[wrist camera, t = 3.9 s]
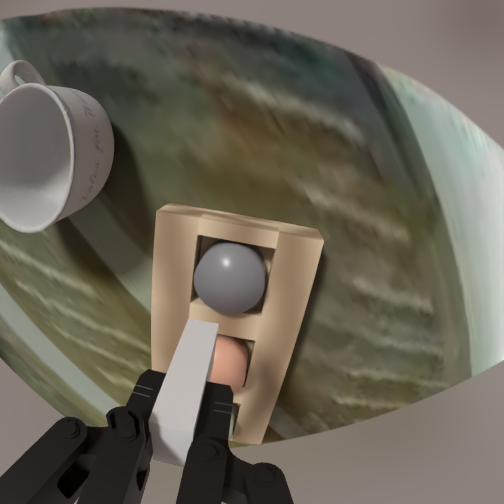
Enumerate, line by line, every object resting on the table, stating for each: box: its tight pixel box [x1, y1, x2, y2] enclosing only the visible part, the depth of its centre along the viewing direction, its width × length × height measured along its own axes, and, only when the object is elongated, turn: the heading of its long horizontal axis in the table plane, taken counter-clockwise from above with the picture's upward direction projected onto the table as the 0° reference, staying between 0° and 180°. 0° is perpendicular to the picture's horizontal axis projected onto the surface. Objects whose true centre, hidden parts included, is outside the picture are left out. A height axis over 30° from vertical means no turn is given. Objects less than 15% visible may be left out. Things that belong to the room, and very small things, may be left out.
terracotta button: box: [210, 334, 248, 393], centre depth 25 cm, size 5×5×3 cm
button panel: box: [151, 203, 324, 445], centre depth 27 cm, size 12×24×3 cm, turn 170°
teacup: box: [0, 60, 114, 233], centre depth 19 cm, size 14×11×8 cm
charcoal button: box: [194, 239, 265, 314], centre depth 23 cm, size 5×5×3 cm
